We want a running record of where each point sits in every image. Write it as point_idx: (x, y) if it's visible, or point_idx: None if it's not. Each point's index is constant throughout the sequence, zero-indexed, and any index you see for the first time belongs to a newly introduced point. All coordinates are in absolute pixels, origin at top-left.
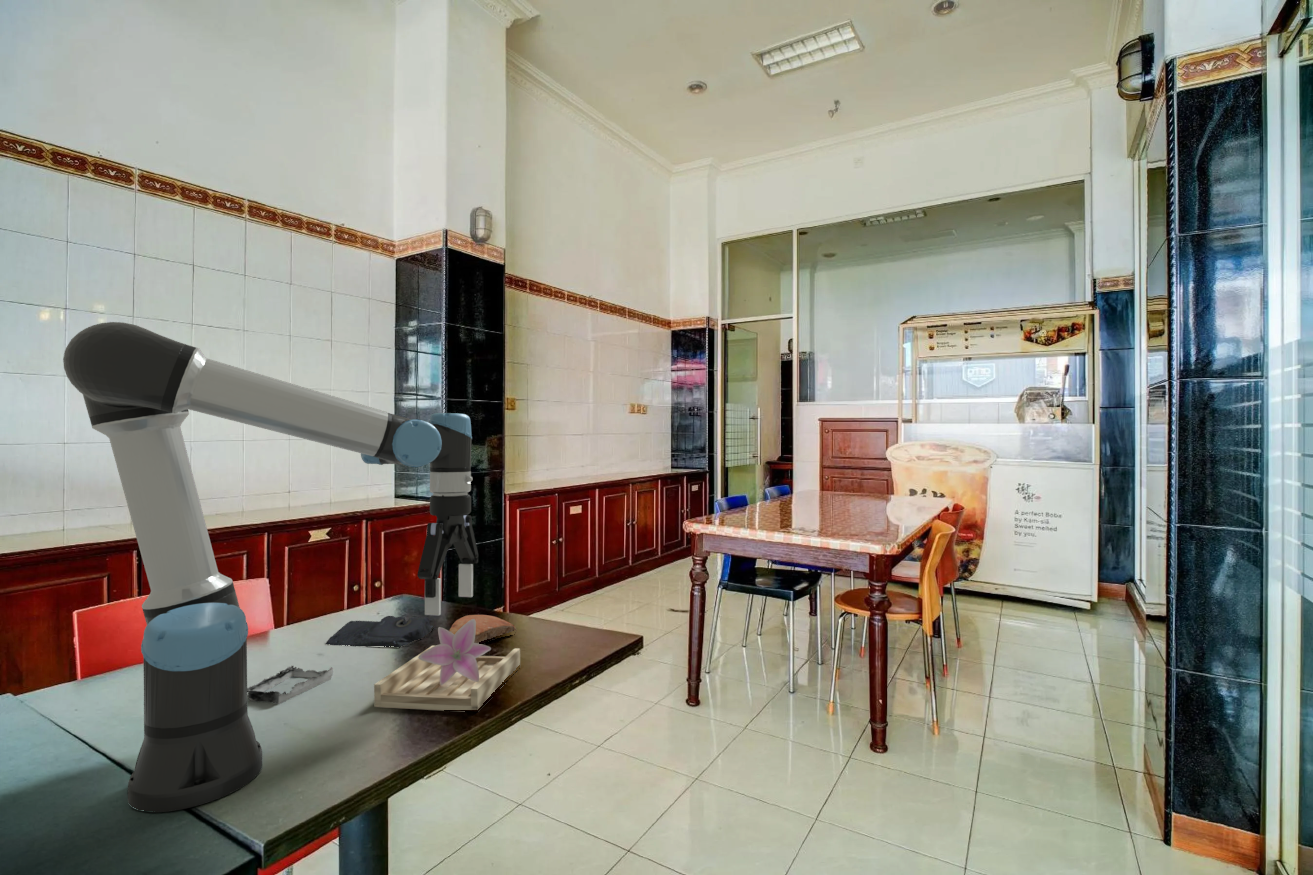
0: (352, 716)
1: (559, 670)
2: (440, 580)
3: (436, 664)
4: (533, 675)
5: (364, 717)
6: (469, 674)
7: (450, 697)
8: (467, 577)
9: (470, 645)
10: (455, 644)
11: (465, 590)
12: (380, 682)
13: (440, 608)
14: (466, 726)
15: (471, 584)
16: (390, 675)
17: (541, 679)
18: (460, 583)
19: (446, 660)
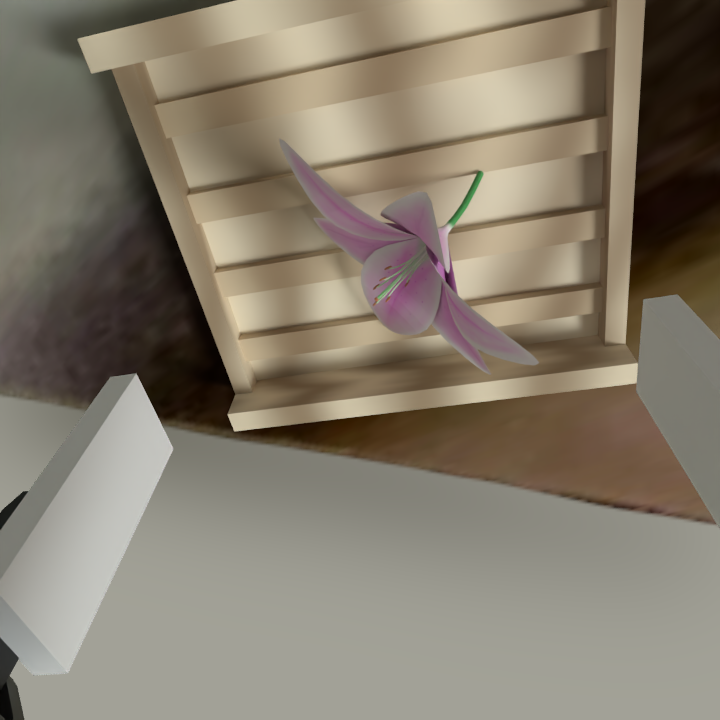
0: (22, 11)
1: (597, 456)
2: (69, 654)
3: (527, 28)
4: (544, 407)
5: (45, 70)
6: (378, 309)
7: (218, 334)
8: (712, 476)
9: (453, 317)
10: (432, 257)
11: (659, 381)
12: (107, 51)
13: (157, 474)
14: (171, 404)
15: (679, 458)
16: (189, 29)
17: (515, 439)
18: (693, 377)
19: (367, 232)
